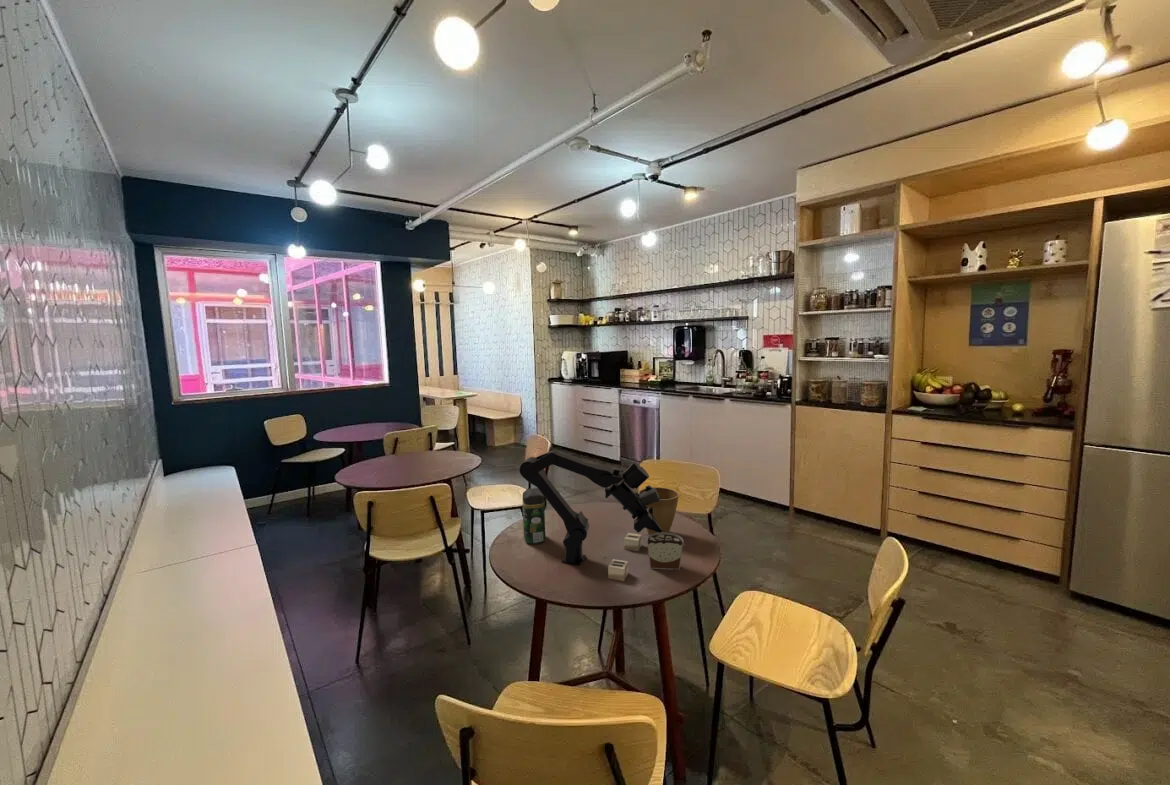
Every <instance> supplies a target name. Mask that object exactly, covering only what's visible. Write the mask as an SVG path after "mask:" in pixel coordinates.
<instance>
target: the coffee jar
mask: <svg viewBox="0 0 1170 785" xmlns="http://www.w3.org/2000/svg"><path fill="white" fill-rule="evenodd" d="M545 509H546V508H545V497H544V496H543V494H542V493H541V492H540V490H539V489H538V488H537V487H536V488H535V487H533V488H526V490H524V491H523V492H522V525H523V538H524V539H523V540H524V541H525V543H527V544H531V545H535V544H536V545H537V544H540V543H544V542H545V540H546V518H545V517H546V515H545V514H546V512H545Z"/></svg>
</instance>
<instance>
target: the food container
mask: <svg viewBox="0 0 1170 785" xmlns="http://www.w3.org/2000/svg"><path fill="white" fill-rule="evenodd" d="M645 544H647V551H648V552H647V553H648V560H649V569H651V570H652V569H653V570H673V569H675V570H676V569H677V570H676V571H680V569H681V563H682V562H681V561H682V555H683V546H684V547H686V545H685V541H684V539H683V537H681V536H680V535H678V534H676V533H672V532H669V533H668V532H661V533H659V532H658V533H653V534H651V535H649V534H648V536H647V538H646V541H645Z"/></svg>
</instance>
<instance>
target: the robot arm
mask: <svg viewBox="0 0 1170 785" xmlns="http://www.w3.org/2000/svg"><path fill="white" fill-rule="evenodd" d="M552 465H553V466H556V467H558V468H561V469H564V470H567V471H569V472H572V473H575V474H578V475H581V476H584V477H585V478H587V479H589V481H591V482H592V483H594V485H595V484H596V485H597V486H599V487H601V488H603V489H604V493H605V494H604V497H605V499H608V498H609V497H610V496H612V497H613V498H614V499H615V500H616V501H617V502H618V503H620V505H621V506H622V509H623V510H624V511H626V512H628V513H629V514H630V515H631V518H632V519H633V530H634V531H635V532H636V533H638V534H639V533H641V531H643V530H644V529H646V528H647V529H650V530H653V531H656V532H659V533H661V532H662V529H661V527H660V526H659V524H658V522H657V521H656V519H655V518H654V516H653V507H651V508H650V509H648V508H647V505H649V504H652V503H654V502H658V501H659V500H660V499H659V495H658V493H657V490H656V488H652V486H651V485H647V486H645V488H644V489H645V492H643V493H642V494H639V493H638V492H639V491H634V489H638V488H639V487H640V486H642V484H643V483H645V482H646V481H647V480H648V479H649V478H650V475H649V473H648V472H647V470H646V469H645V468H644V467H643V466H641V465H639V464H638V463H636V462H635V461H633V462H632V463H631V464H630V466H628V467H627V468H626V469H625V470H621V469H616V468H613V467H612V466H611V465H607V464H606V465H605V464H601V463H590V462H587V461H584V460H581V459H579V458H575V457H573V456H570V455H568V454H565V453H563V452H562V453H561V452H559V451H557V450H556V449H551V450H550V451H548V452H546V453H543V454H539V455H538V456H536V457H535V456H531V457H527V458H526V459H525V460H524V461H523V462H522V463H521V464H520V466H519V474H520V476H521V477H522V478H524V480H526V482H528V483H529V484H531V485H533V486H535V487H536V488H537V489H539V490H540V492H541V493H542V494H543V496H544V499H546V500H547V502H548V503H549V505H551V507H552V508H553V509H554V511H555V512H556V513H557V515H558V516H559V517H560V518H561V520H562V521H563V523H564V526H565V530H566V534H565V535H564V538H563V540H562V543H563V546H564V549H565V553H564V554H565V556H564V557H563V558H562V560H561V563H565V564H571V565H577V566H581V564H582V563H583V562H584V561H585V559H586V558H587V555H586V554H583V541H585V540H586V539H587V537H588V534H589V531H590V523H589V518H587V517H586V516H585V515H584V512H583V511H582V510H580V511H579V512H577V511H575V510H574V509H572V507H571V506H570V505H569V503H568V502H567V501H566V499H565V498H564V497H563V496H562V495H561V493H560V492H559V491H558V489H556V487H555V486H554V484H553V483H552V482H551V480H549V478H548V476H547V473H546V471H545V469H546V468H548V467H549V466H550V467H551V466H552ZM632 489H633V490H632ZM646 508H647V509H646ZM647 529H646V530H647Z"/></svg>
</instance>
